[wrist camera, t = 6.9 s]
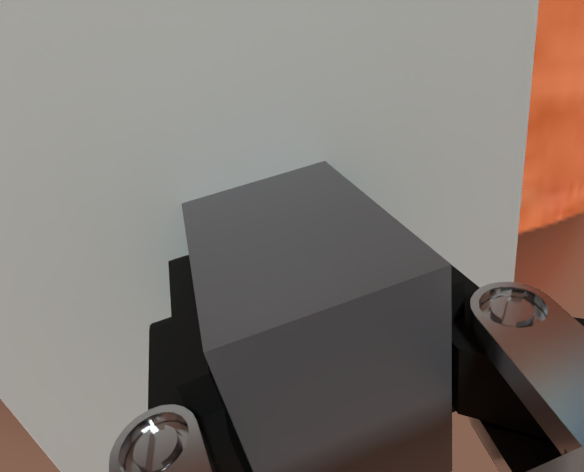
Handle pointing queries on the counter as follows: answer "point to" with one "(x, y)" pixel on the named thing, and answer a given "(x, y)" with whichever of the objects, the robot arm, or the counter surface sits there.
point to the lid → (256, 212)
